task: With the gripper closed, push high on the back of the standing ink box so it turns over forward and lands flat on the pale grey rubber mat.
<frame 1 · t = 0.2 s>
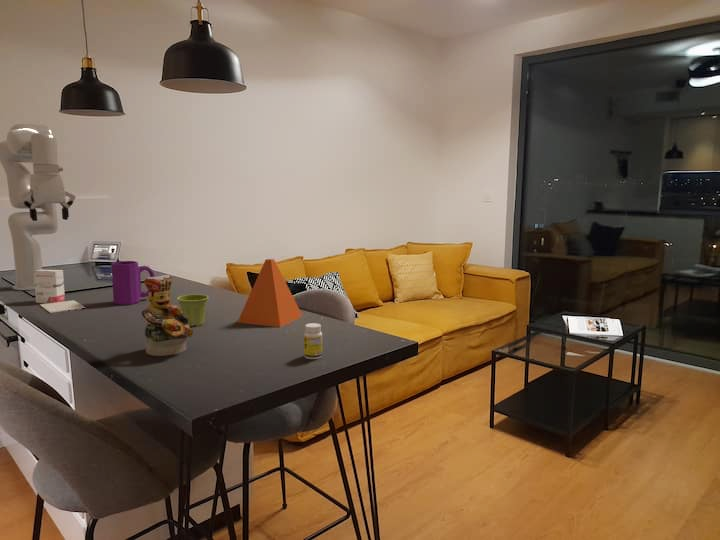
hand: (50, 220, 184), 31 cm above the table, fingers open, 9 cm apart
pyramid: (270, 320, 174), on the table
ink box: (50, 302, 196), on the table
mug: (135, 301, 198), on the table
plant pot: (194, 324, 166), on the table
supplement bottle: (313, 357, 136), on the table
figurine: (168, 351, 140), on the table
mat: (62, 306, 188), on the table
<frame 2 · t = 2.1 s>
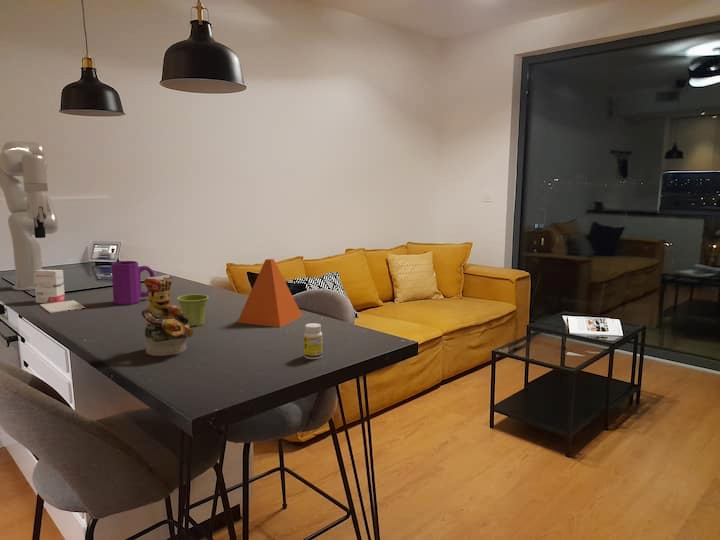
hand: (40, 237, 198), 23 cm above the table, fingers closed
nothing on the table moved.
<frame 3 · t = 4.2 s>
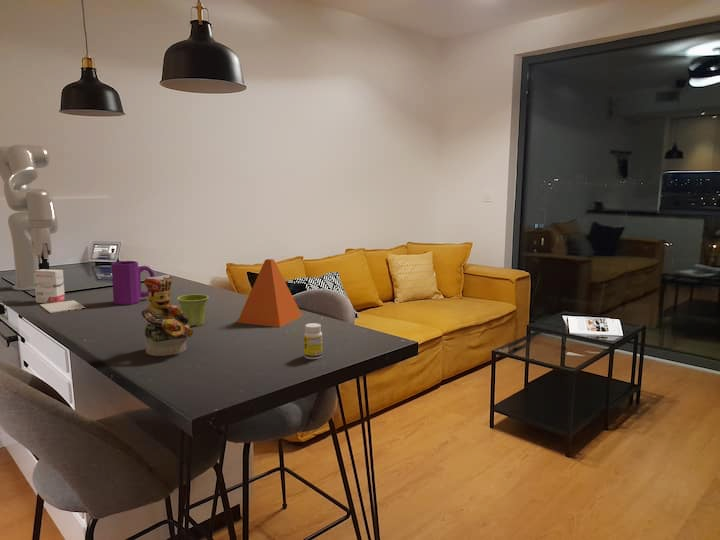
hand: (44, 273, 199), 10 cm above the table, fingers closed
ink box: (50, 302, 196), on the table, touching gripper
everything else where it was.
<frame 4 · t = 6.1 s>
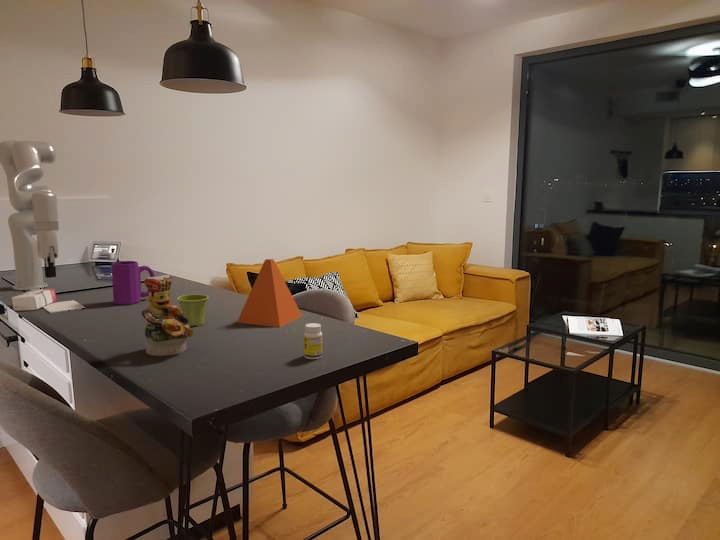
hand: (50, 277, 192), 10 cm above the table, fingers closed
ink box: (44, 294, 193), point 3 cm above the table, touching mat
everything else where it was.
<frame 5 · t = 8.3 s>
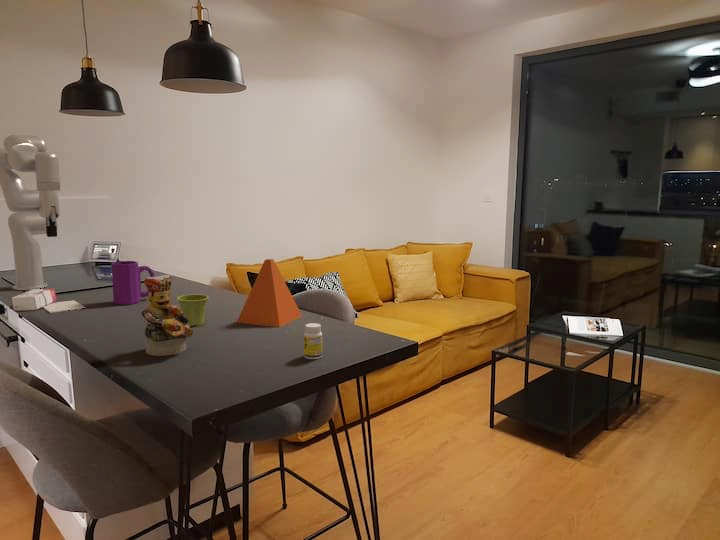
hand: (52, 236, 198), 24 cm above the table, fingers closed
nothing on the table moved.
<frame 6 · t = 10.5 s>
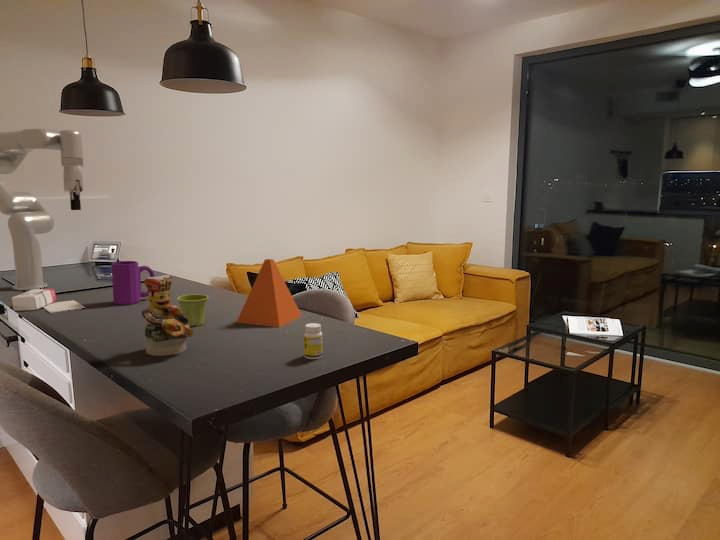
hand: (75, 209, 209), 33 cm above the table, fingers closed
nothing on the table moved.
at the end: ink box tilted 95°; ink box inside the target area (8.9 cm from its centre), point 3.2 cm above the table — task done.
